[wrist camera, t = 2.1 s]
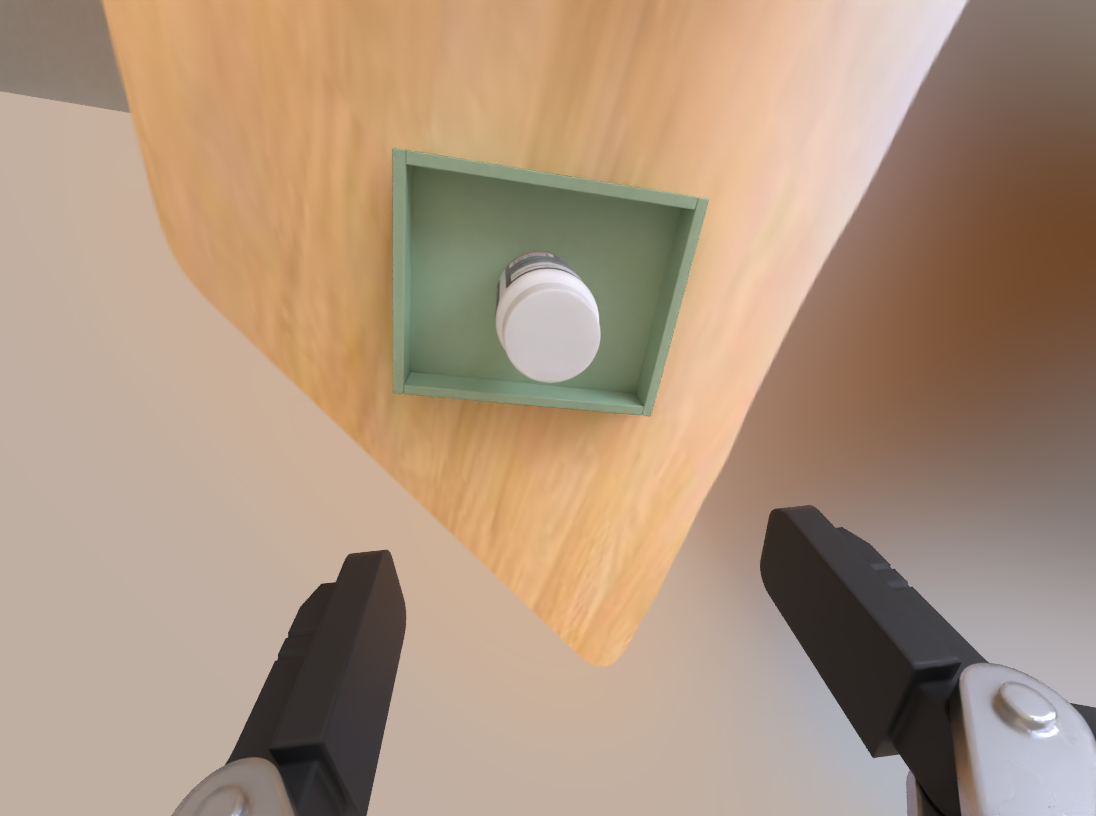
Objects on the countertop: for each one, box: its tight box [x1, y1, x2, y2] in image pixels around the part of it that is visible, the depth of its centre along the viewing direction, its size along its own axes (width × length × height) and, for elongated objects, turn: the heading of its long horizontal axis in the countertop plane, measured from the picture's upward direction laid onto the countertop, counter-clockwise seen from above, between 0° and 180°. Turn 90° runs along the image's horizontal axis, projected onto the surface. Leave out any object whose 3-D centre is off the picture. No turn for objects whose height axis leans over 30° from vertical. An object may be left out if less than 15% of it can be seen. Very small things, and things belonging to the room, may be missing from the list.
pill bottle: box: [495, 252, 601, 383], centre depth 23 cm, size 5×5×8 cm
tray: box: [392, 148, 709, 416], centre depth 26 cm, size 15×12×2 cm
